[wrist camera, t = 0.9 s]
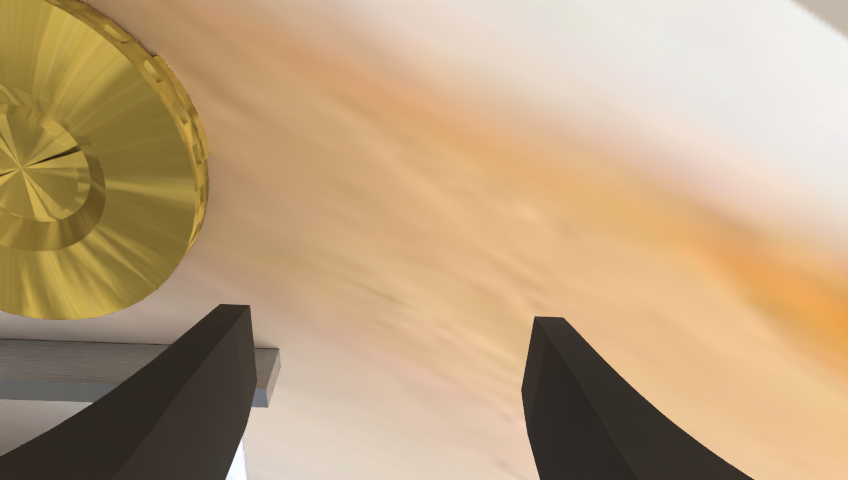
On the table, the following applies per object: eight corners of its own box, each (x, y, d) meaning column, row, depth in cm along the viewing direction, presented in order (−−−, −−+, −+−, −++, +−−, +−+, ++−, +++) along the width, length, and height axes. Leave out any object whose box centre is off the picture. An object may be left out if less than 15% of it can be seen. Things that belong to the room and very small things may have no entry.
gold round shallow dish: (-146, 210, 22) (-199, 236, 20) (-111, -106, 17) (-177, -112, 15) (160, 330, 25) (139, 363, 23) (263, 87, 20) (247, 103, 18)
